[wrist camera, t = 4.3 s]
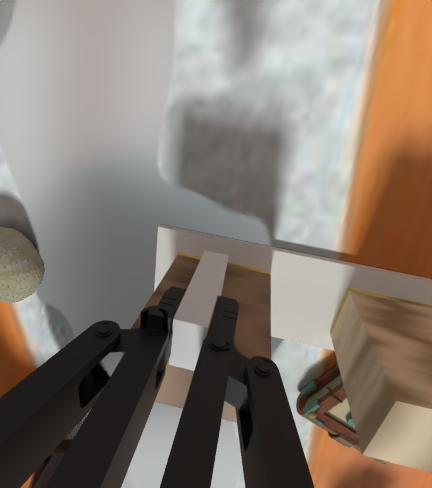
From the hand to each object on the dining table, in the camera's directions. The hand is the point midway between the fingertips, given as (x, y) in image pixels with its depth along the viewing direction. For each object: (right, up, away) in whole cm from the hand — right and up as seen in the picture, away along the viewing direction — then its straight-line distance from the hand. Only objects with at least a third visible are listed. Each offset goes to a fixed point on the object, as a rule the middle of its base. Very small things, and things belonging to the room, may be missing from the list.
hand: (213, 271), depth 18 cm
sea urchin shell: (-25, -2, +20) cm, 32 cm away
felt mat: (+10, -4, +14) cm, 18 cm away
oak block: (+18, -6, +13) cm, 23 cm away
